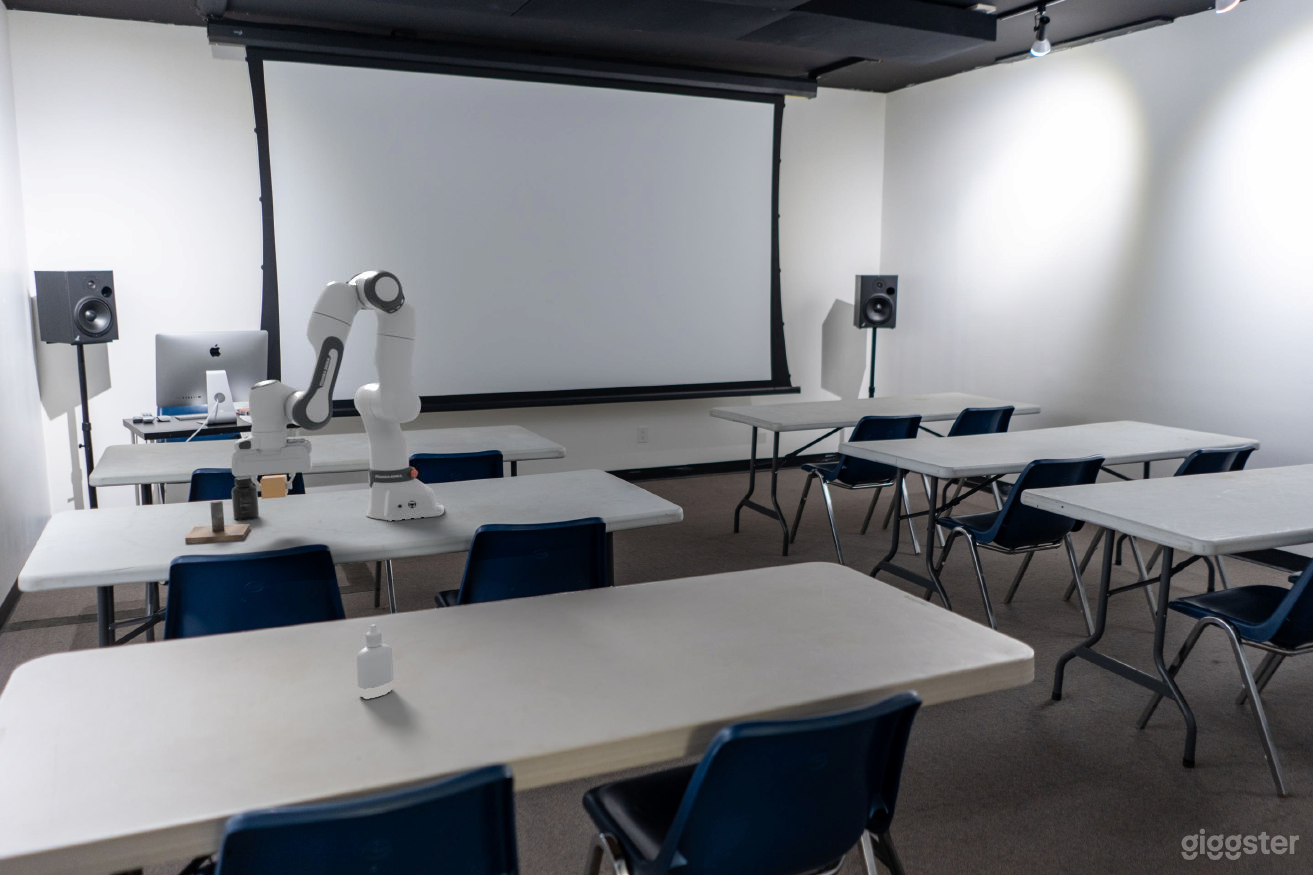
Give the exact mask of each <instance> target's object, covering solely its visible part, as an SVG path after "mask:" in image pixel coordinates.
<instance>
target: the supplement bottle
mask: <svg viewBox="0 0 1313 875" xmlns="http://www.w3.org/2000/svg"><path fill="white" fill-rule="evenodd" d="M253 484H254V483H253V481H252V480H251V476H239V477H235V478H234V485H235V486H234V487H232V489H231V502H232V512H233V519H235V521H236V520H238V521H247V520H254V519H258V517H259V515H260V511H259V500H258V499H259V498H258V496H259V495H258V491H257V489H256V485H253Z"/></svg>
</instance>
